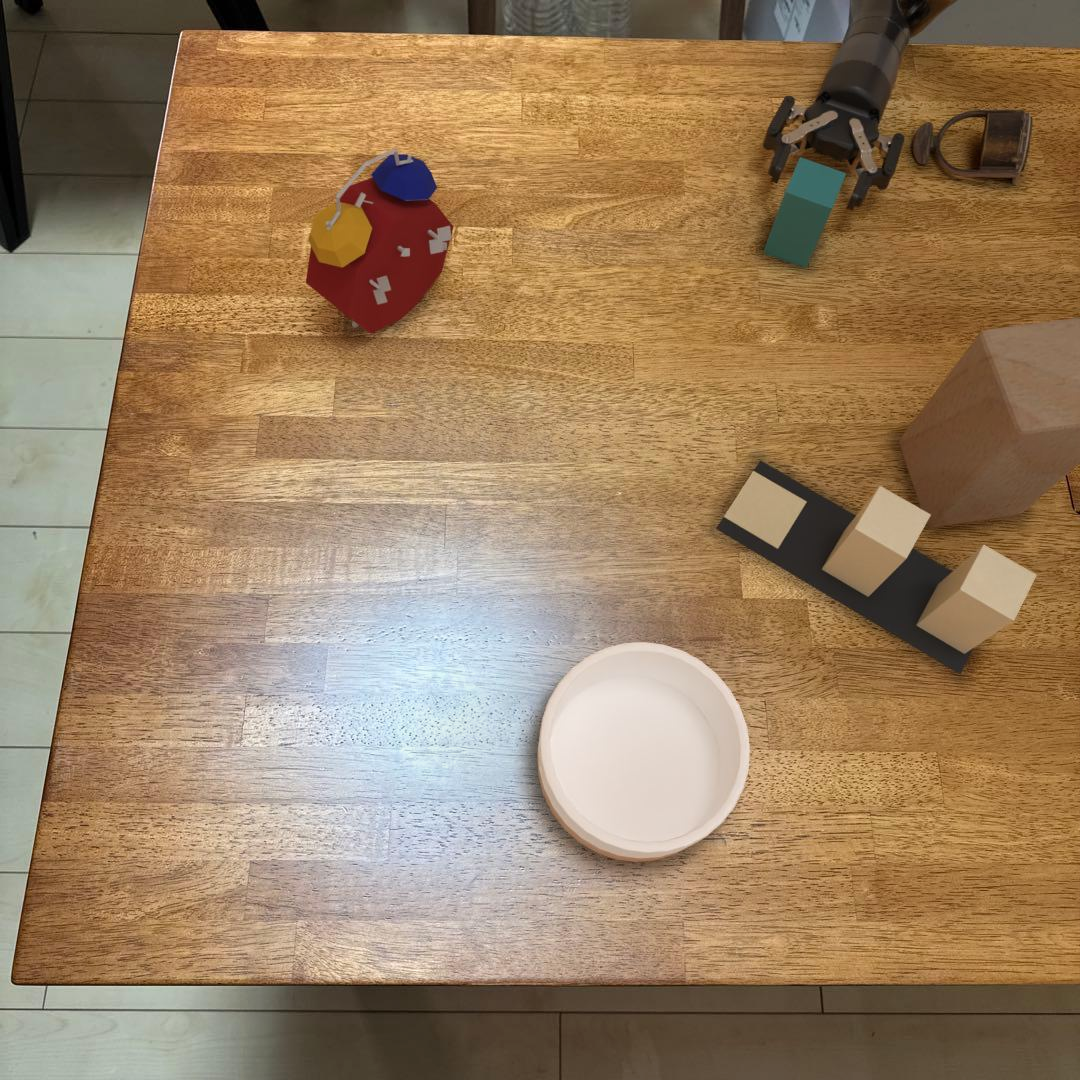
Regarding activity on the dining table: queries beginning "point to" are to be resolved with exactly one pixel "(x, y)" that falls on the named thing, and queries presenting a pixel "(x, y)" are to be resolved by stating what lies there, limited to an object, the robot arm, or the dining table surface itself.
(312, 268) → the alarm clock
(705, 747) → the bowl
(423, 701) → the dining table surface
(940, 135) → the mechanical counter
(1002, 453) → the wooden block
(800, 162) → the teal block
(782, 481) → the mat
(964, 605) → the cream block
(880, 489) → the cream block
